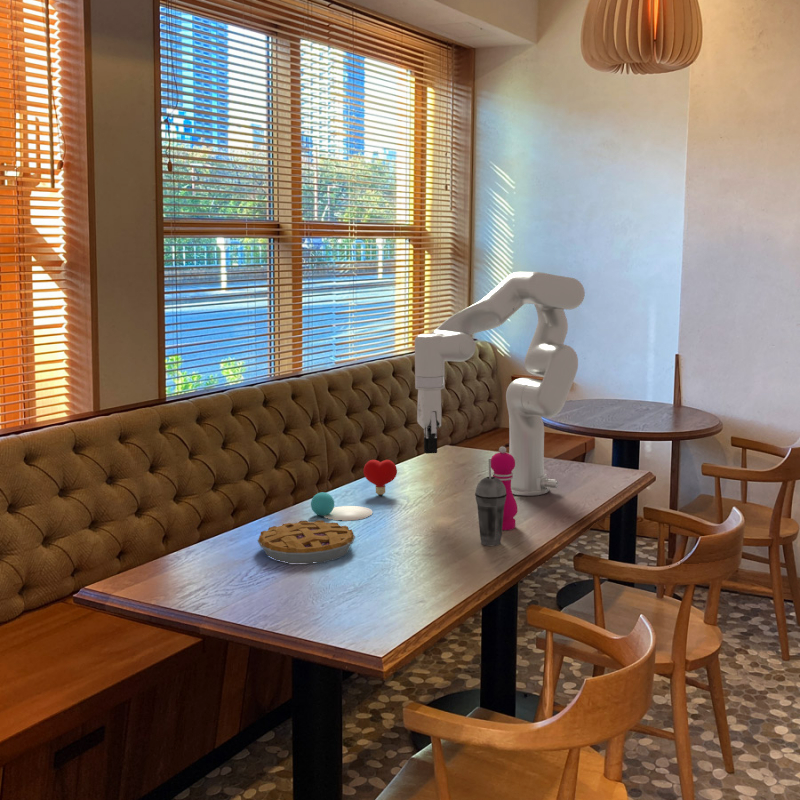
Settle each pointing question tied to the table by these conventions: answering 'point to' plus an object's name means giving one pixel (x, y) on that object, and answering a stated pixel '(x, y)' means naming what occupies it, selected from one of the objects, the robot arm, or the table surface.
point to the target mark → (349, 513)
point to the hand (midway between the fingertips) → (430, 452)
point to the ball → (322, 504)
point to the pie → (306, 541)
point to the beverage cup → (490, 508)
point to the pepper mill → (505, 484)
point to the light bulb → (380, 474)
